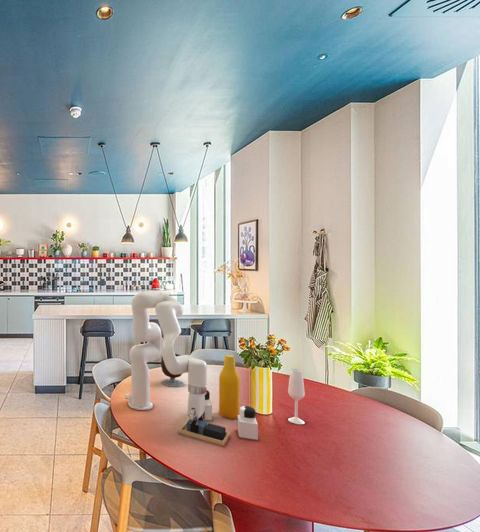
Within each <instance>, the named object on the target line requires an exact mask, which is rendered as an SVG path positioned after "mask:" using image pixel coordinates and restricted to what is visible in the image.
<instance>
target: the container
mask: <svg viewBox="0 0 480 532" xmlns="http://www.w3.org/2000/svg"><path fill="white" fill-rule="evenodd" d="M210 396H211V395H210V391H209V390H208V389H206V394H205V411H204V413H203V421H212V420H213V404H212V401H211V399H210V398H211V397H210ZM194 417H196V415H195V416H194Z"/></svg>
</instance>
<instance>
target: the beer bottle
mask: <svg viewBox="0 0 480 532" xmlns="http://www.w3.org/2000/svg"><path fill="white" fill-rule="evenodd" d="M240 382H241V379H240V376H239V373H238V371H237V369H236V359H235V355H233V354H225V355H224V359H223V366H222V370H221V371H220V373H219V377H218V383H219V384H218V387H219V388H218V414H219V415H220V416H221V417H222V418H225V419H228V420H236V419H237V420H238V415H240V407H241V406H240V403H241V401H240V398H241V395H240V387H241V385H240V384H241V383H240Z"/></svg>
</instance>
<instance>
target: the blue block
mask: <svg viewBox="0 0 480 532" xmlns="http://www.w3.org/2000/svg"><path fill="white" fill-rule="evenodd" d="M194 420H195V421H196V419H195V418H194ZM187 421H188V422H187V431H189V432H190V430H191V424H190V422H191V421H190V418H189V419H188V420H187ZM207 425H208V421H207V420H203V421H202V420H198V434H200V435H203V436H204V434H205V427H206V426H207Z"/></svg>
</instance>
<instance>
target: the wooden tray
mask: <svg viewBox="0 0 480 532" xmlns="http://www.w3.org/2000/svg"><path fill="white" fill-rule="evenodd" d="M188 421H189V420H186V421H185V422H184V424H183V425H182V426H181V427H180V428H179V430H178V431H179V434H182V435H186V436H189V437H192V438H196V439H199V440H202V441H205V442H209V443H213V444H216V445H220V446H222V447H224V446H225V445H226V443H227V441H228V439H229V438H230V432H229V431H226V436H225V438H224V440H223V441H221V440H217V439H214V438H210V437H207V436H205V434H204V436H203V435H200V434H196V433H193V432H189V431H187V422H188Z"/></svg>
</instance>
